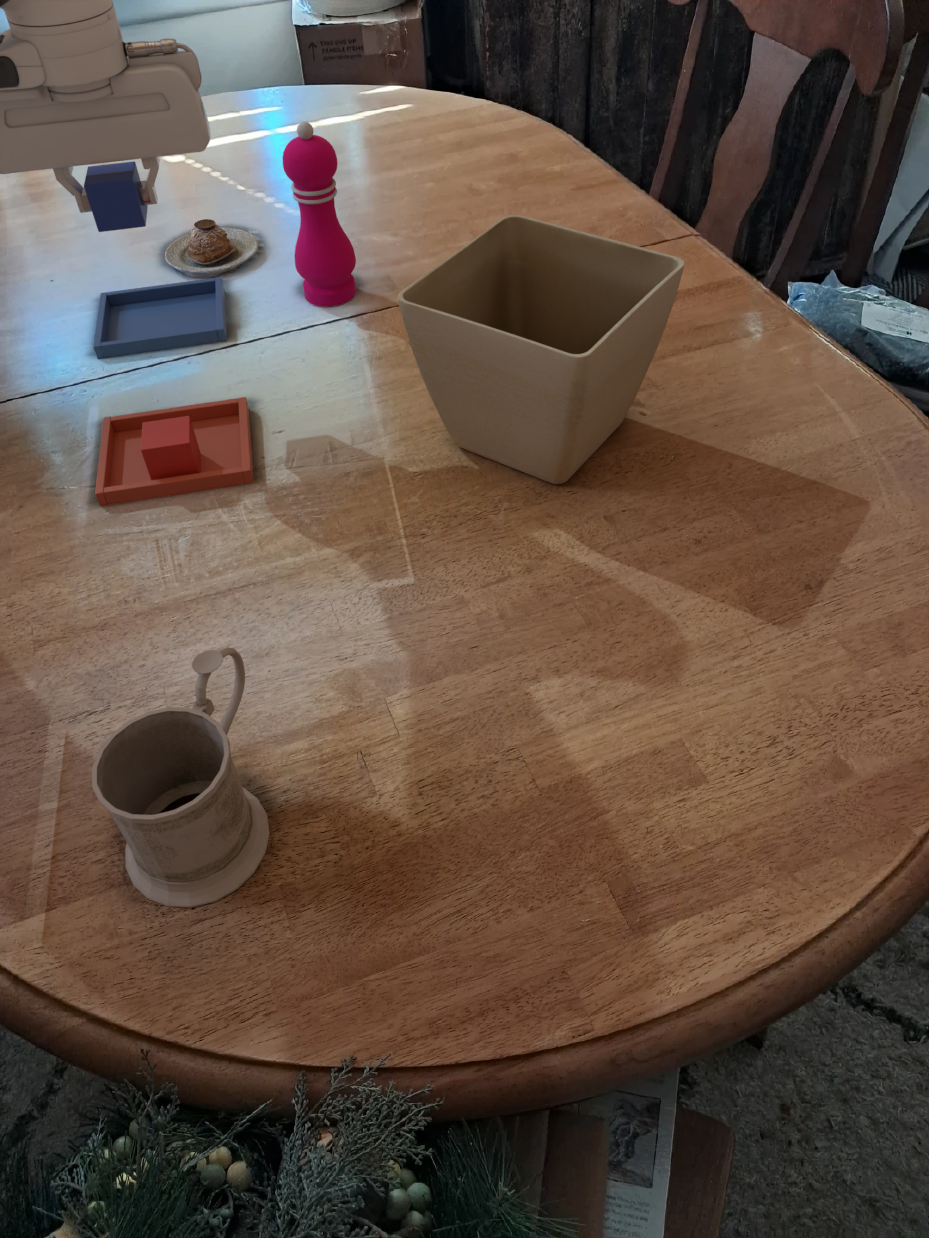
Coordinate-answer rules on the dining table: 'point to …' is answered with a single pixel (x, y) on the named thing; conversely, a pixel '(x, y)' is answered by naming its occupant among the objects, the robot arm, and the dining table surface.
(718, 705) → the dining table surface
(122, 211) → the blue block
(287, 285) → the dining table surface
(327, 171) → the pepper mill
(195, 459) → the red block
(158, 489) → the red tray
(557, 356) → the flower pot
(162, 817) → the mug
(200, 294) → the blue tray
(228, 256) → the pastry
